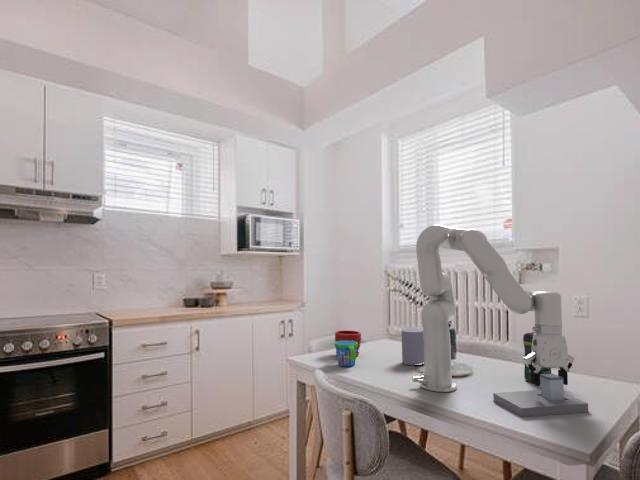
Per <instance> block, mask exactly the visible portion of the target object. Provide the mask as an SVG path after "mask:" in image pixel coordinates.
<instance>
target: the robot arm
mask: <svg viewBox="0 0 640 480" xmlns="http://www.w3.org/2000/svg"><path fill="white" fill-rule="evenodd" d="M441 248H442V249H450V250H455V251H461V252H464V253H465V254H466V256H467V257H468V258H469V259H470V260H471V261H472V263H473V264H474V265H475V267H476V268H477V269H478V270H479V271H480V272H481V274H482V275H483V277H484V279H485V280H486V281H487V282H488V284H489V285H490V287H491V288H492V289H493V291H494V293H495V294H496V296H498V298H499V299H500V300H501V302H503V304H504V305H505V306H506V308H508V310H510V311H511V313H514V314H516V315H517V314H518V315H525V314H527V313H529V312H533V313H534V326H532V331H533V332H535V334H533V339H532V348H531V354H529V355H528V356H526V357H525V356H524V357H523V358H522V359H523V362H524V365H525V364H526V367H527V368H528V369H529V371H531V382H530V383H531V384H532V385H534V386H537V387H541V384H540V373H538V372H539V370H540V369H541V368H542V367H543V368H551V369H552V368H553V369H554V368H558V370H557V373H558V374H557V375H558V376H561V377H563V384H564V386H567V385H568V384H569V383H568V382H569V380H568V377H569V376H568V373H570V369H571V368H572V367H573V363H574V361H575V357H574V356H572V355H570V354H569V350H568V344H567V340H566V337H565V335H564V334H563V325H562V324H563V319H562V318H563V316H562V315H563V313H562V311H563V310H562V296H561V294H560V293H559V292H557V291H549V290H548V291H547V290H546V291H545V290H544V291H535V290H534V291H533V290H527V289H524V288H523V287H522V286H521V285H520V284H519V282H518V281H517V280H516V279H515V277H514V276H513V275H512V273H511V271H510V270H509V268H508V265H507V262H506V261H505V260H504V258H503V257H502V256H501V254H499V252H498V251H497V250H496V249H495V247H493V245H492V244H491V243H490V242H489V241H488V238H487V236H486V234H485V233H484V232H482V231H481V230H478V229H475V228H469V229H465V228H457V227H451V226H446V225H444V224H439V223H437V224H431V225H429V226H427V227H426V228H424V229H423V230H422V232H421V233H420V234H419V235H418V237H417V241H416V244H415V253H416V259H417V267H418V269H417V270H418V277H419V285H420V290H421V291H422V294H424V295H425V296H427V297H428V299H429V301H428V302H426V303H425V305H424V306H423V307H422V308H421V313H420V314H421V315H420V316H421V317H420V318H421V325H422V330H423V337H424V372H422V373H421V375H420V376H416V375H415V376H412V377H411V381H412V382H413V383H418V384H420V387H422V389H425V390H427V391H430V392H431V391H432V392H439V393H449V392H454V391H456V390H457V387H458V386H457V384H456V383H455V382H453V378H452V377H453V376H452V373H453V371H452V351H451V350H452V349H451V332H450V326H449V322H451V321H452V320H453V319H454V317H455V315H456V306H455V305H456V304H455V300H454V291H453V286H452V281H451V279H450V277H449V276H448V274H447V273H445V272H443V268H442V261H441V260H442V259H441V256H440V252H439V250H440V249H441ZM531 360H532V364H531V362H530V361H531ZM535 367H536V368H535Z"/></svg>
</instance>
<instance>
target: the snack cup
mask: <svg viewBox="0 0 640 480" xmlns="http://www.w3.org/2000/svg"><path fill="white" fill-rule="evenodd" d="M357 346H358V343H357V342H355V341H353V340H352V341H347V340H346V341H338V342H334V347H335V353H336V352H337V354H336V358H337V364H338V366H340V367H354V366H355V365H356V360H357V356H356V351H357Z"/></svg>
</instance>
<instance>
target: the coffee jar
mask: <svg viewBox="0 0 640 480" xmlns="http://www.w3.org/2000/svg"><path fill="white" fill-rule="evenodd" d="M533 334H535V331H533V332H526V333H525V334H523V337H522V340H523V341H522V342H523V348H524V357H526V356H528V355H529V354H531V348H532V339H533ZM530 362H531V364H532V360H531V361H530ZM535 368H536V367H535ZM523 373H524V379H525V380H527V381H528V382H530V383H531V371H529V369H528V368H527V367H526V364H525V363H524V372H523ZM538 373H540V374H552V368H543V367H542V368H541V369H540V370H539V372H538Z"/></svg>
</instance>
